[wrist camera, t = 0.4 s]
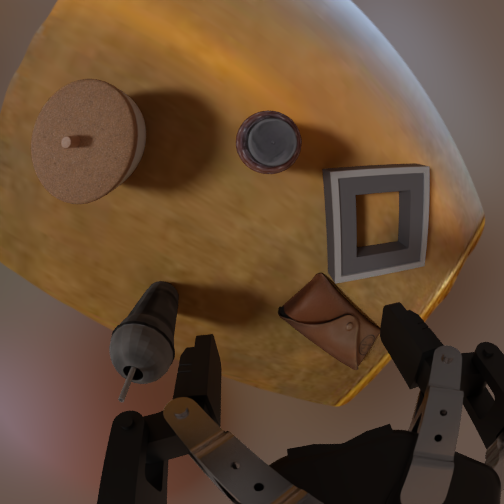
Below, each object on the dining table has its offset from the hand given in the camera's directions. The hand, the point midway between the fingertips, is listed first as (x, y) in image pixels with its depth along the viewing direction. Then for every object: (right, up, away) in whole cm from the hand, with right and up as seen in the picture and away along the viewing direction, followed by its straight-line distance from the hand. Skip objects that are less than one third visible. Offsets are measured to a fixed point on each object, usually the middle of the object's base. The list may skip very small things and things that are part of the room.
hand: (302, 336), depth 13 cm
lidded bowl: (-20, +18, +18) cm, 32 cm away
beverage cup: (-15, -2, +27) cm, 30 cm away
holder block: (+14, +8, +24) cm, 29 cm away
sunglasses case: (+10, -7, +30) cm, 33 cm away
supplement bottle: (-1, +17, +20) cm, 26 cm away
